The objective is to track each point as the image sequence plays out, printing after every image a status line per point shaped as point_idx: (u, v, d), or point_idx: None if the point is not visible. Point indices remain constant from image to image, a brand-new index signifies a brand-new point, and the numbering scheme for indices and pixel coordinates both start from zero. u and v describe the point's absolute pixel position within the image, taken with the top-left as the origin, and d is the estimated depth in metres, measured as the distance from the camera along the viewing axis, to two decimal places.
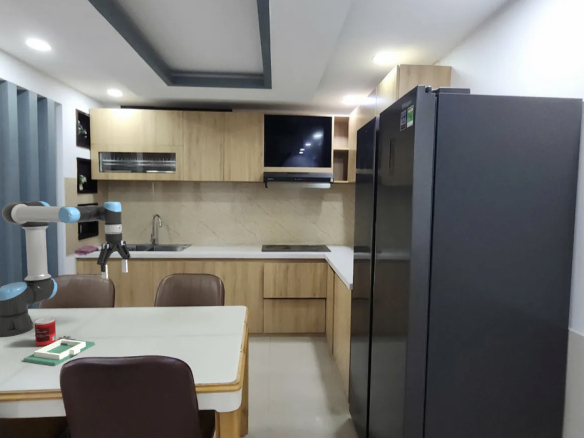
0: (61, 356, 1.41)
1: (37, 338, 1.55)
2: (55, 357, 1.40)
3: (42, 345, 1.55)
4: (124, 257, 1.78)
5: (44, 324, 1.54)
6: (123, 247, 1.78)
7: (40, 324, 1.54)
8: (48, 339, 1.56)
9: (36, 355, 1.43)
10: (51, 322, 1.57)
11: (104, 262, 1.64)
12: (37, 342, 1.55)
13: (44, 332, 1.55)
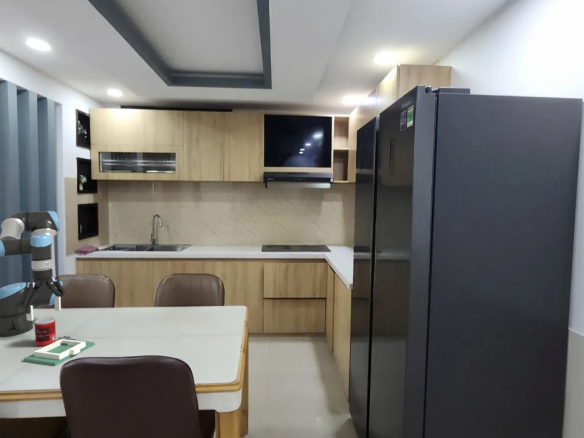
0: (61, 356, 1.41)
1: (37, 338, 1.55)
2: (55, 357, 1.40)
3: (42, 345, 1.55)
4: (57, 294, 1.63)
5: (44, 324, 1.54)
6: (55, 283, 1.63)
7: (40, 324, 1.54)
8: (48, 339, 1.56)
9: (36, 355, 1.43)
10: (51, 322, 1.57)
11: (28, 303, 1.49)
12: (37, 342, 1.55)
13: (44, 332, 1.55)
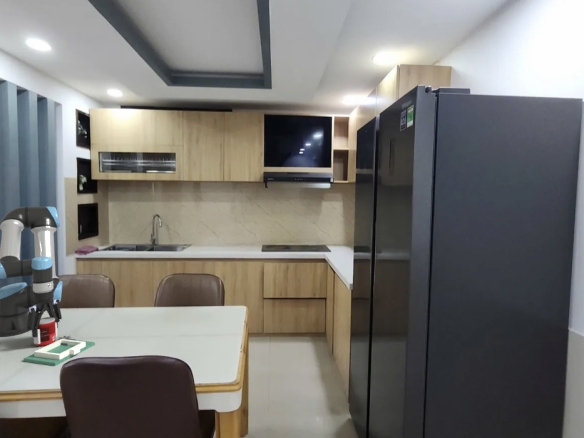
0: (61, 356, 1.41)
1: None
2: (55, 357, 1.40)
3: (42, 345, 1.55)
4: None
5: (44, 324, 1.54)
6: (55, 306, 1.63)
7: (40, 324, 1.54)
8: (48, 339, 1.56)
9: (36, 355, 1.43)
10: (51, 322, 1.57)
11: (35, 327, 1.52)
12: None
13: (44, 332, 1.55)
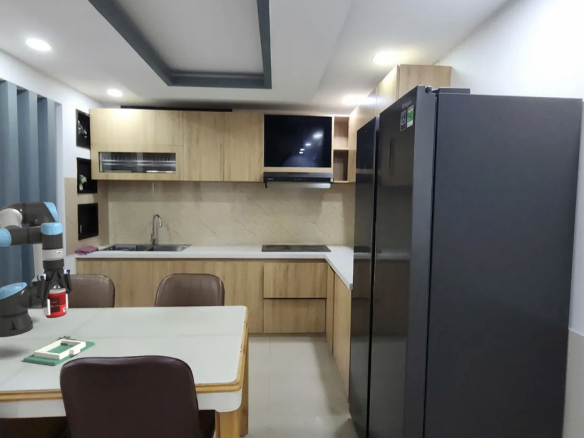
0: (61, 356, 1.41)
1: None
2: (55, 357, 1.40)
3: (52, 316, 1.44)
4: None
5: (54, 294, 1.44)
6: (65, 277, 1.52)
7: (50, 293, 1.44)
8: (58, 310, 1.45)
9: (36, 355, 1.43)
10: (62, 292, 1.46)
11: (45, 297, 1.42)
12: None
13: (55, 302, 1.44)
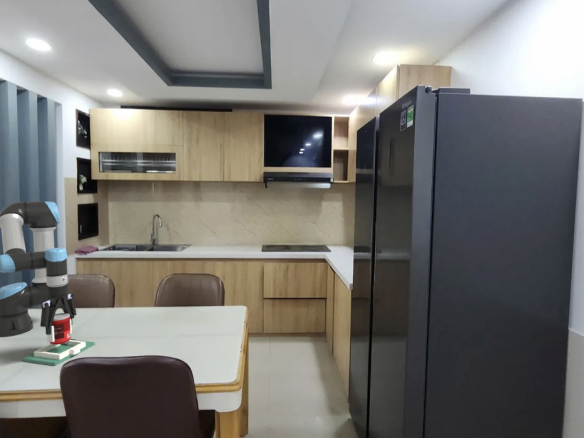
0: (61, 356, 1.41)
1: None
2: (55, 357, 1.40)
3: (56, 343, 1.44)
4: None
5: (58, 320, 1.44)
6: (69, 301, 1.52)
7: (54, 320, 1.43)
8: (63, 336, 1.45)
9: (36, 355, 1.43)
10: (66, 318, 1.46)
11: (49, 324, 1.41)
12: None
13: (59, 329, 1.44)
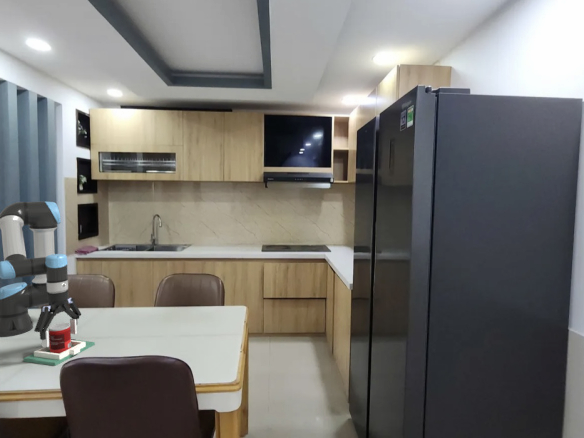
0: (61, 356, 1.41)
1: (51, 346, 1.44)
2: (55, 357, 1.40)
3: None
4: (72, 316, 1.53)
5: (59, 331, 1.44)
6: (71, 305, 1.53)
7: (55, 331, 1.43)
8: (63, 346, 1.45)
9: (36, 355, 1.43)
10: (66, 328, 1.46)
11: (44, 328, 1.39)
12: (51, 350, 1.44)
13: (59, 339, 1.44)
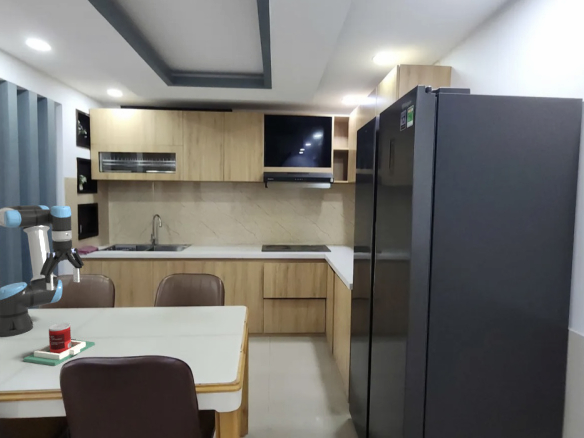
0: (61, 356, 1.41)
1: (51, 346, 1.44)
2: (55, 357, 1.40)
3: None
4: (76, 266, 1.64)
5: (59, 330, 1.44)
6: (74, 255, 1.63)
7: (55, 331, 1.43)
8: (63, 346, 1.45)
9: (36, 355, 1.43)
10: (66, 328, 1.46)
11: (49, 272, 1.50)
12: (51, 349, 1.44)
13: (59, 339, 1.44)
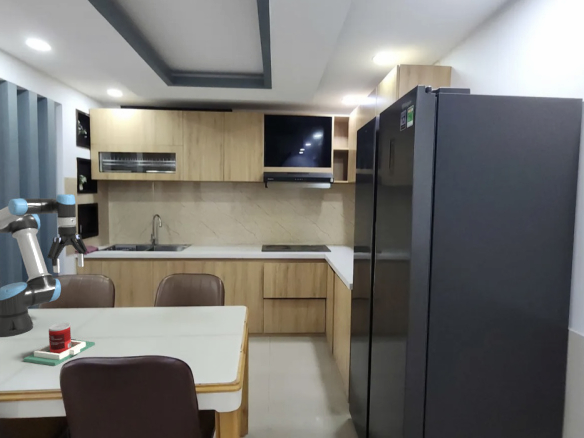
0: (61, 356, 1.41)
1: (51, 346, 1.44)
2: (55, 357, 1.40)
3: None
4: (80, 251, 1.74)
5: (59, 331, 1.44)
6: (78, 241, 1.74)
7: (55, 331, 1.43)
8: (63, 346, 1.45)
9: (36, 355, 1.43)
10: (66, 328, 1.46)
11: (55, 256, 1.60)
12: (51, 350, 1.44)
13: (59, 339, 1.44)
